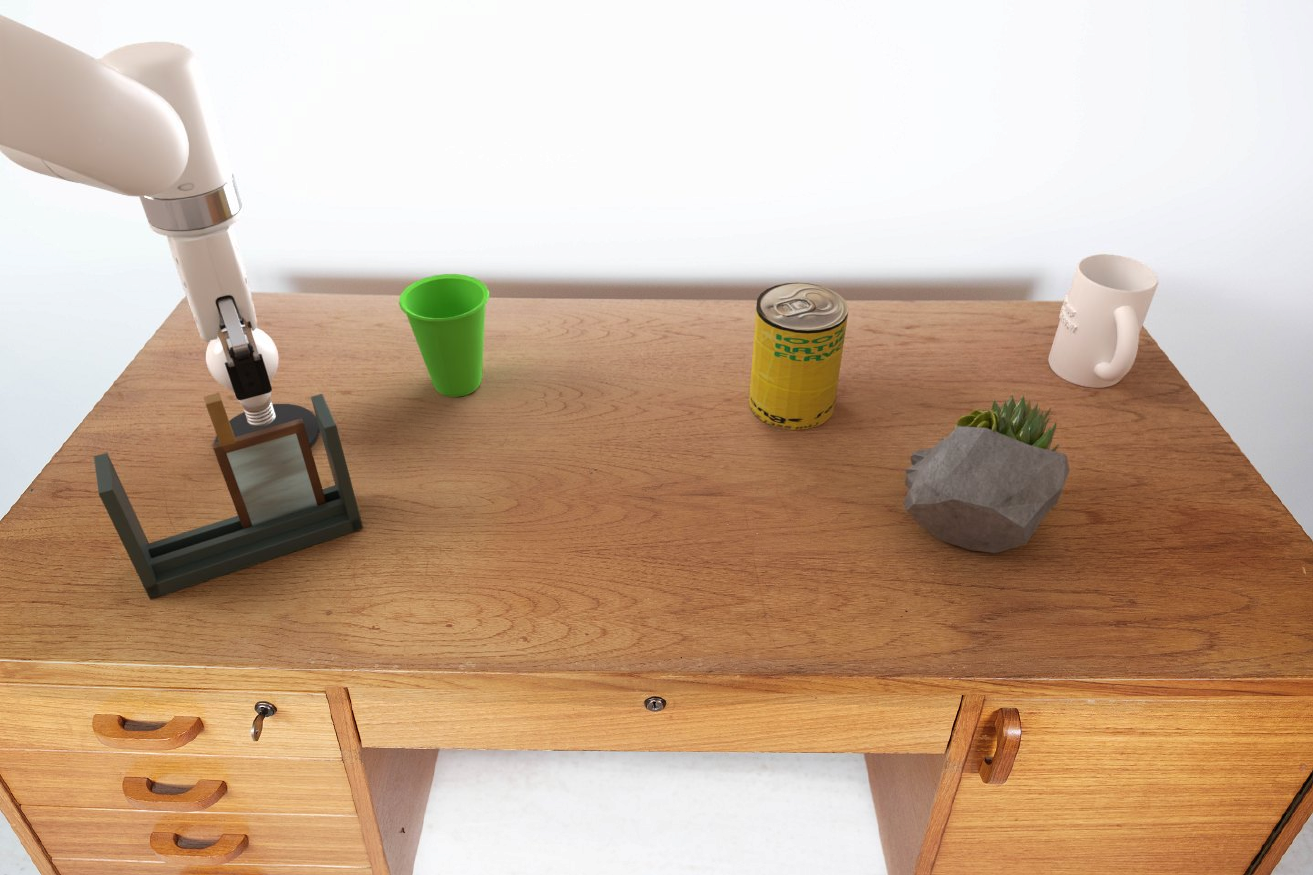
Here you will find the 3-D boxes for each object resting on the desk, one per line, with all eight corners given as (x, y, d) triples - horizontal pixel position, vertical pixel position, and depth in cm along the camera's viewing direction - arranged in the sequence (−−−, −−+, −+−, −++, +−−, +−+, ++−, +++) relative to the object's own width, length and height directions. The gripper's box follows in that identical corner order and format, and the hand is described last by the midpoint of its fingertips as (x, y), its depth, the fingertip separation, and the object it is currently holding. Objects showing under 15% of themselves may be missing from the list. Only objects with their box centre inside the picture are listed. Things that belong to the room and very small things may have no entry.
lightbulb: (246, 402, 99) (216, 309, 92) (306, 406, 98) (280, 314, 92) (218, 440, 94) (184, 346, 87) (280, 445, 94) (251, 351, 87)
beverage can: (851, 413, 101) (867, 314, 93) (781, 439, 98) (791, 340, 90) (800, 370, 107) (811, 274, 100) (732, 393, 104) (738, 296, 96)
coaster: (225, 482, 92) (223, 477, 92) (208, 425, 99) (207, 420, 99) (330, 450, 96) (329, 446, 96) (307, 398, 103) (306, 393, 102)
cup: (507, 362, 108) (497, 275, 101) (488, 411, 101) (476, 321, 94) (429, 357, 109) (414, 271, 102) (405, 406, 102) (386, 316, 95)
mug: (1069, 410, 102) (1102, 312, 94) (1036, 347, 111) (1064, 253, 103) (1148, 411, 101) (1187, 313, 94) (1108, 347, 111) (1142, 254, 103)
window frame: (150, 599, 81) (98, 493, 73) (143, 561, 84) (93, 456, 77) (363, 528, 87) (336, 424, 80) (349, 495, 91) (322, 393, 83)
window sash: (246, 538, 84) (197, 406, 75) (243, 529, 85) (195, 398, 76) (329, 511, 87) (291, 381, 78) (326, 503, 88) (288, 373, 79)
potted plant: (867, 505, 85) (916, 382, 93) (964, 586, 89) (1004, 461, 96) (973, 473, 75) (1018, 338, 83) (1078, 566, 79) (1112, 428, 86)
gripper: (133, 172, 86) (193, 341, 97) (156, 254, 74) (221, 436, 85) (221, 156, 89) (270, 323, 100) (257, 233, 77) (307, 412, 88)
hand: (247, 373), depth 92 cm, fingers closed on lightbulb, 6 cm apart
